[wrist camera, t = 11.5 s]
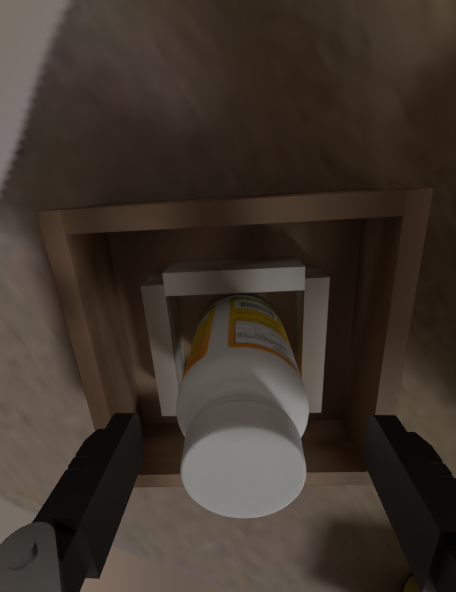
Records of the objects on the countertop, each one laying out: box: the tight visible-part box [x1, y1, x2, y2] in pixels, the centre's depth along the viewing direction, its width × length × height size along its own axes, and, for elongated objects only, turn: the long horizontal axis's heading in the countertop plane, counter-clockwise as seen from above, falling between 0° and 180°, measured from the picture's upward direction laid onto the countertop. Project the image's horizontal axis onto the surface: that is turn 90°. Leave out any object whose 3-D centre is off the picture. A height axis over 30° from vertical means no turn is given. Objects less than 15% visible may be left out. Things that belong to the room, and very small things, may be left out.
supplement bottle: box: [176, 295, 309, 518], centre depth 14 cm, size 5×5×10 cm
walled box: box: [36, 188, 434, 487], centre depth 17 cm, size 16×16×5 cm
